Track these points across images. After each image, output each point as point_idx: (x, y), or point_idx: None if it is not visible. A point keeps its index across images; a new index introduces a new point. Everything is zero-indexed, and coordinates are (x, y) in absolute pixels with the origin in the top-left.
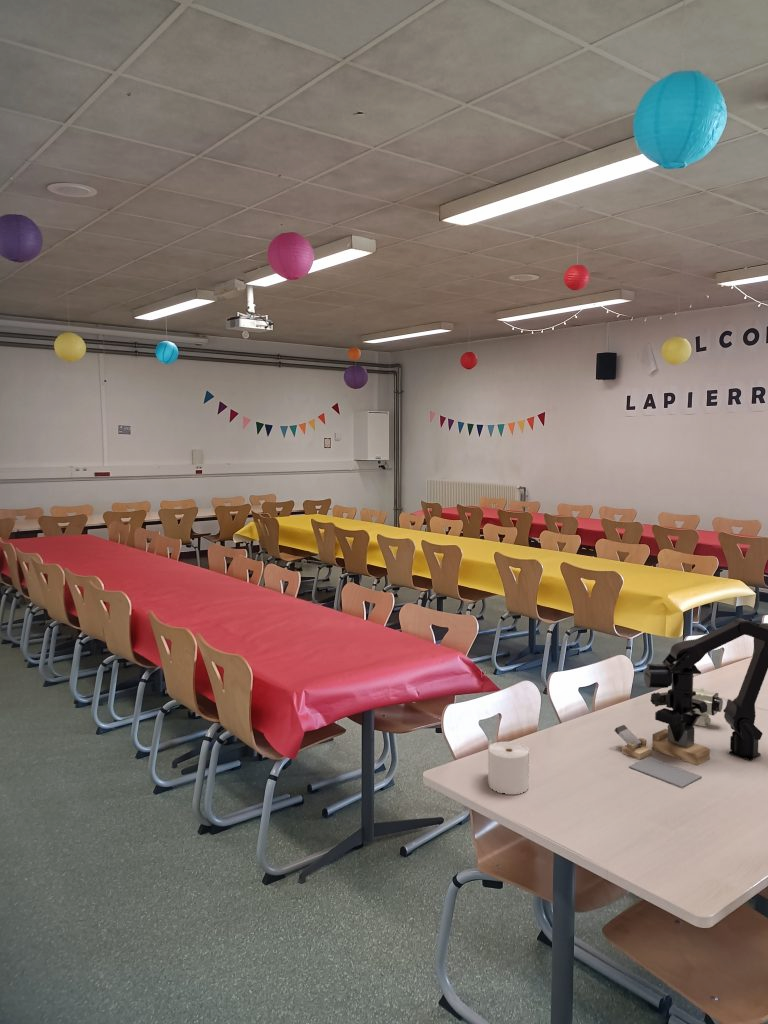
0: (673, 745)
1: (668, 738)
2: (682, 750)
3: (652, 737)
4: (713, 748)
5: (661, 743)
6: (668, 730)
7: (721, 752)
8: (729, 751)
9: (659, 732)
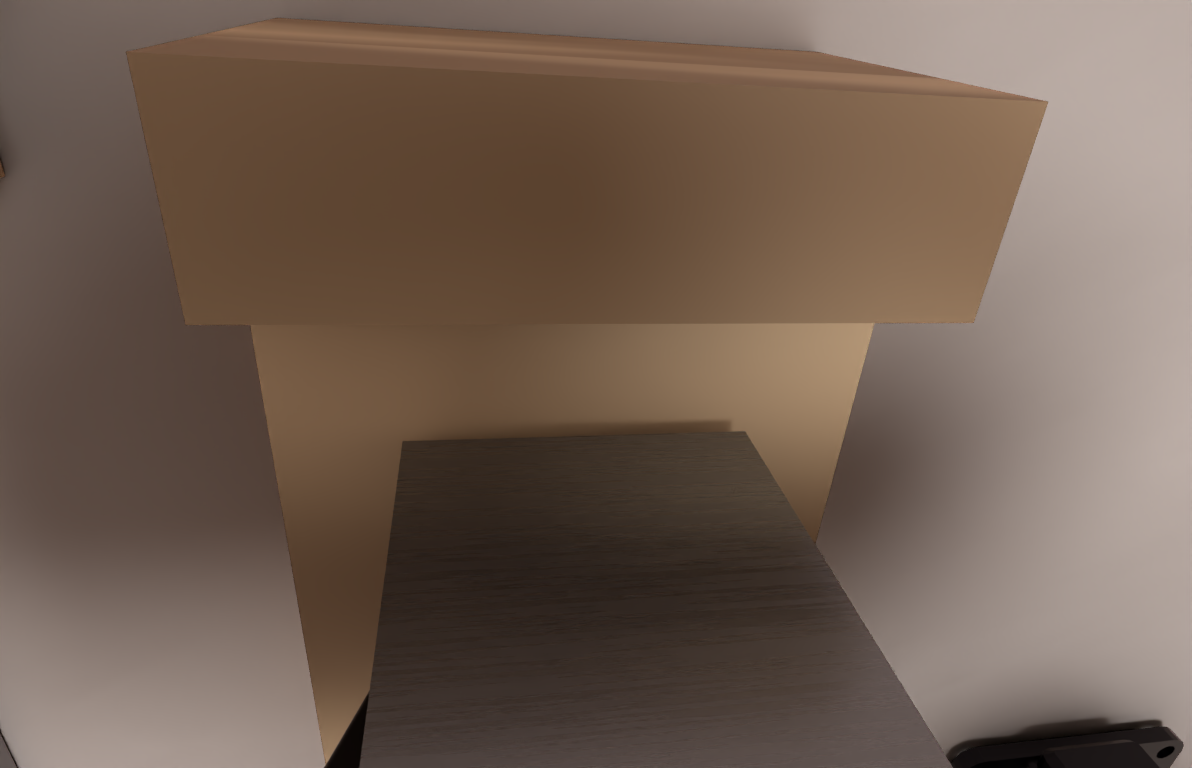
0: (357, 583)
1: (401, 514)
2: (325, 737)
3: (179, 41)
4: (1040, 602)
5: (259, 337)
6: (369, 721)
7: (963, 693)
8: (993, 761)
9: (544, 151)
